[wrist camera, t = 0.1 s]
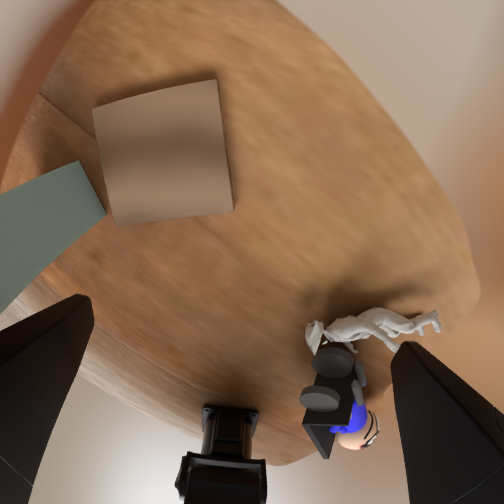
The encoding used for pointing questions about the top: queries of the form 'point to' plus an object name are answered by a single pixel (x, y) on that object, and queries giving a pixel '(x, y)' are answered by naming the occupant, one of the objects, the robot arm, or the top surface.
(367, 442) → the character figurine
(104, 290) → the top surface
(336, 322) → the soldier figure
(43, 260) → the pillar
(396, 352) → the robot arm
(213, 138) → the base tile
